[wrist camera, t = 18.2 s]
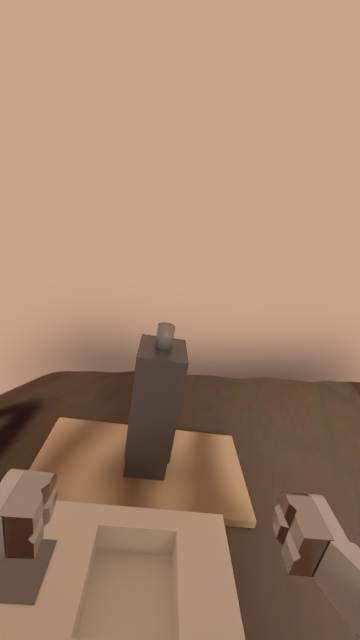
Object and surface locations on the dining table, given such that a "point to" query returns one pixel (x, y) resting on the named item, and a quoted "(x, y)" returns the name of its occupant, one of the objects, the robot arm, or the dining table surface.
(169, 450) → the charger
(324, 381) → the dining table surface
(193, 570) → the beige holder tray
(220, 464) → the oak board
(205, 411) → the dining table surface
